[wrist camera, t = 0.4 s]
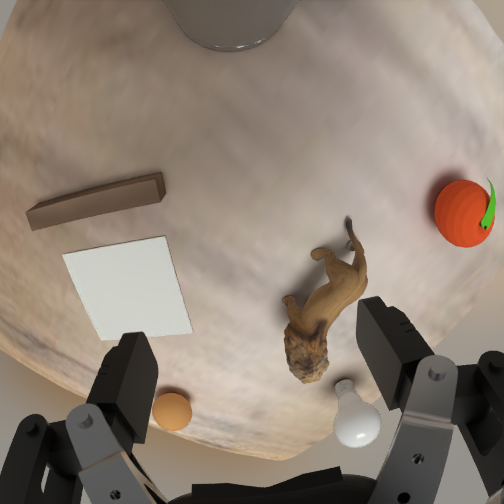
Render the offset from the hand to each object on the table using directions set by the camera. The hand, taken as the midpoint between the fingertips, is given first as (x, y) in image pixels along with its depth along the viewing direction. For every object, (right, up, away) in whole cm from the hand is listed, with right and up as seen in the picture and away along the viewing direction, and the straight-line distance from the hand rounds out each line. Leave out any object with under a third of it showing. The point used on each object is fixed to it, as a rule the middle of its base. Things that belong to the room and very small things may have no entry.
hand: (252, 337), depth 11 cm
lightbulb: (+13, -15, +30) cm, 36 cm away
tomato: (+22, +9, +18) cm, 29 cm away
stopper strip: (-15, +8, +15) cm, 23 cm away
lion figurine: (+7, 0, +22) cm, 23 cm away
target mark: (-13, -1, +20) cm, 24 cm away
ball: (-11, -19, +26) cm, 34 cm away
